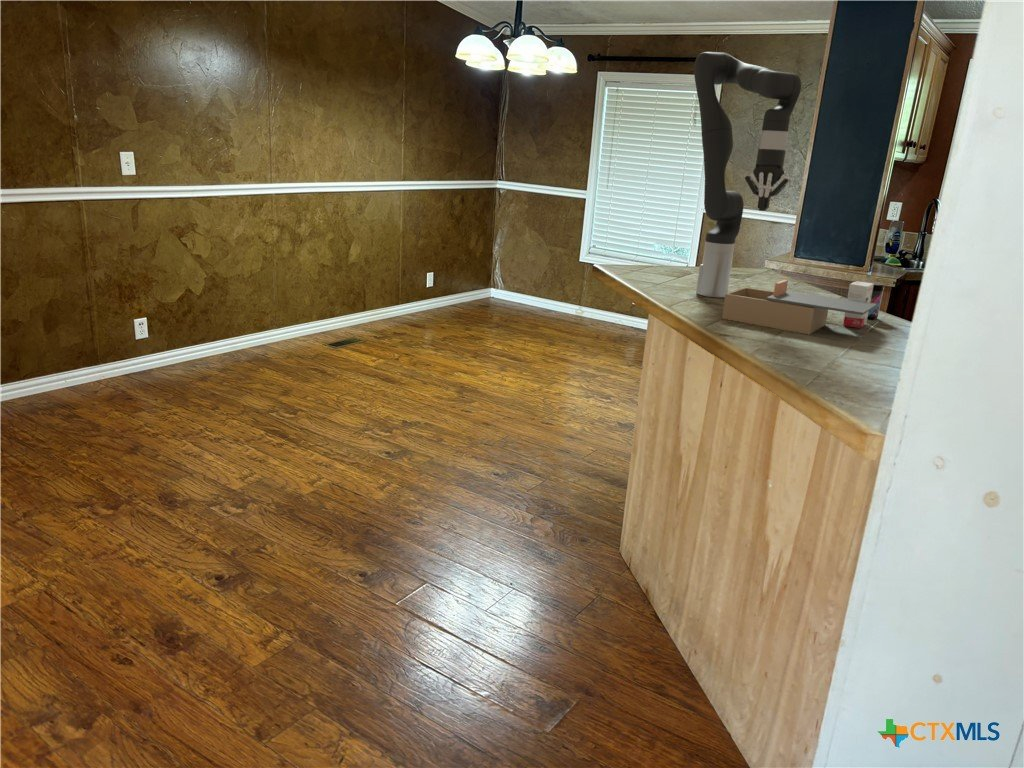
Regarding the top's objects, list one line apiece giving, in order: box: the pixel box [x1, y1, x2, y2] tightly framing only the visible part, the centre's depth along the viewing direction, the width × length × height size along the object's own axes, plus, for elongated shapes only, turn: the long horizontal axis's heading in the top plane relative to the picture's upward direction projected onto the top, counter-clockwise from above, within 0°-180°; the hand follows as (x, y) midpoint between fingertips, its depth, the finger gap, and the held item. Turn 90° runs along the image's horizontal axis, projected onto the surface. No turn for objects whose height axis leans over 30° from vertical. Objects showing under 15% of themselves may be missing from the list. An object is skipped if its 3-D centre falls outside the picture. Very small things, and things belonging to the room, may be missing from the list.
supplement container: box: [859, 280, 885, 321], centre depth 216 cm, size 7×7×10 cm
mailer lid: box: [766, 279, 877, 315], centre depth 196 cm, size 24×16×4 cm
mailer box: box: [721, 286, 829, 335], centre depth 205 cm, size 24×16×7 cm, turn 54°
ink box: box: [842, 281, 874, 329], centre depth 205 cm, size 9×5×12 cm, turn 144°
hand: (762, 210), depth 213 cm, fingers closed
